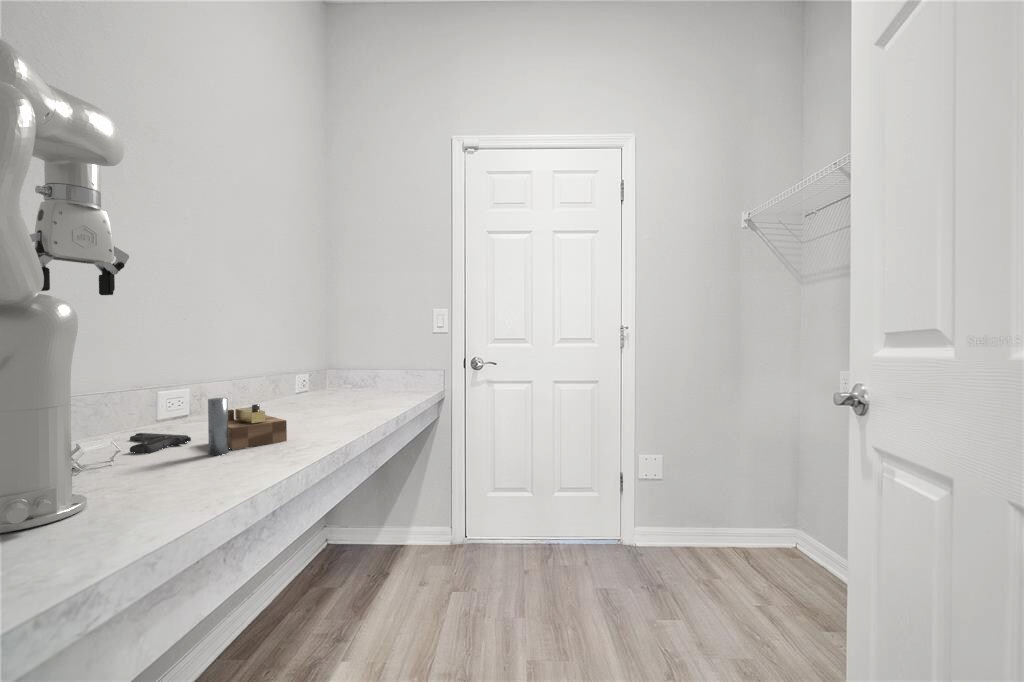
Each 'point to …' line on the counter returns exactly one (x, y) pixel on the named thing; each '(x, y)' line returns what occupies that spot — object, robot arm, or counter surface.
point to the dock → (255, 432)
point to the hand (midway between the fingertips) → (75, 292)
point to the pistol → (156, 441)
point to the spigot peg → (218, 426)
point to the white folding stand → (92, 446)
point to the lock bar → (250, 414)
